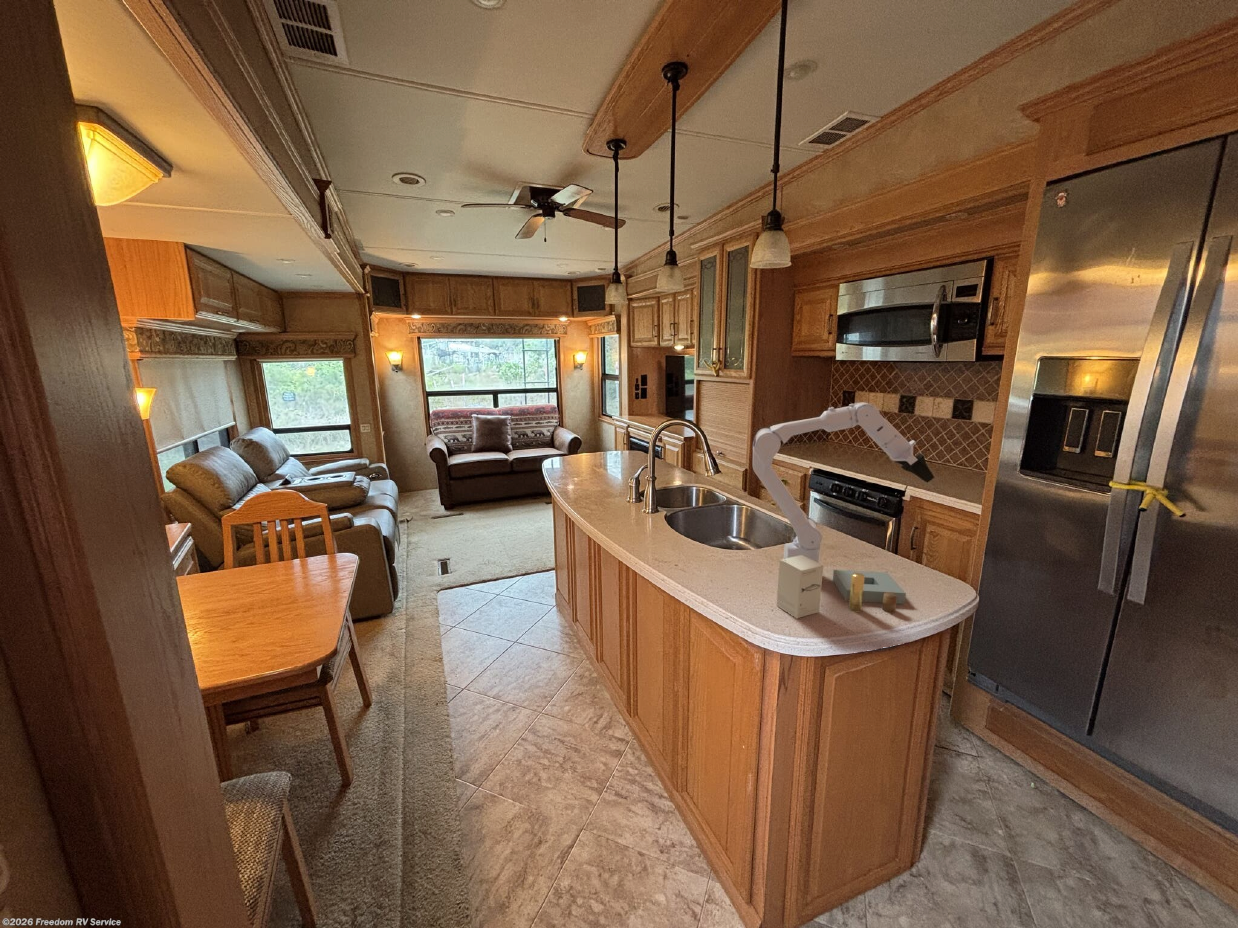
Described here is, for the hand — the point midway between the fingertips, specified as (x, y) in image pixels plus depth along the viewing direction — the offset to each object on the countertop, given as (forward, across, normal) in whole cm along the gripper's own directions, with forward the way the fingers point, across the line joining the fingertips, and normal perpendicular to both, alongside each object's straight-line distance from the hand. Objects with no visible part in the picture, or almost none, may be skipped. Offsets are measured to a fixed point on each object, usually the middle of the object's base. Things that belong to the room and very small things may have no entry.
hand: (925, 475), depth 127 cm
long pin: (+8, -19, +34) cm, 40 cm away
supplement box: (-1, -23, +44) cm, 49 cm away
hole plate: (+12, -9, +30) cm, 34 cm away
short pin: (+14, -18, +28) cm, 36 cm away
